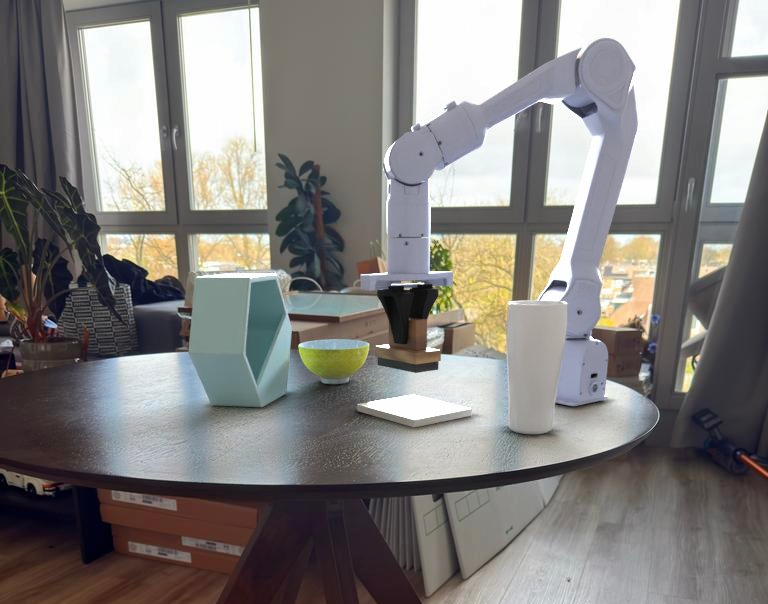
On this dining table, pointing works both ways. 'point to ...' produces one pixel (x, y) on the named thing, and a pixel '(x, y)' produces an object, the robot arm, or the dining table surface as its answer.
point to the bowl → (334, 358)
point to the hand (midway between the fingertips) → (407, 342)
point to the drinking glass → (534, 362)
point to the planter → (240, 338)
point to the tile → (414, 410)
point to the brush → (410, 350)
